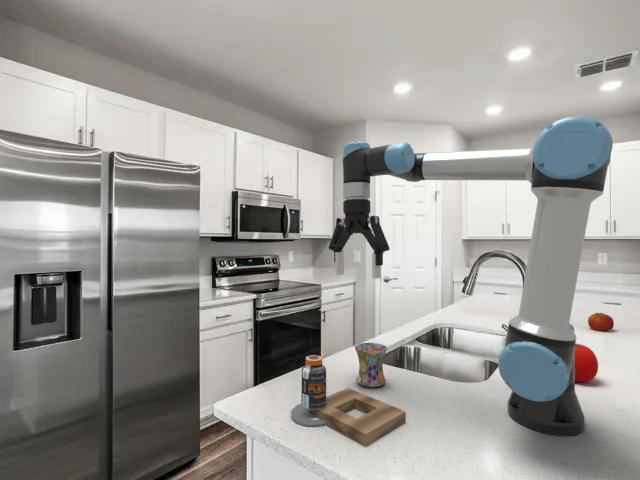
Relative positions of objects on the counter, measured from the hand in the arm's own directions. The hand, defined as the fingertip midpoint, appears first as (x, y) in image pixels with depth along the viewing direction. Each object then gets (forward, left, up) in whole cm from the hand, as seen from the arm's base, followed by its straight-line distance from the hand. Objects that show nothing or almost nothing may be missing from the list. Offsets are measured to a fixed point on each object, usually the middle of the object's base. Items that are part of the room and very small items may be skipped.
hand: (357, 276), depth 100 cm
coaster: (-2, +18, -32) cm, 37 cm away
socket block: (-10, +12, -32) cm, 35 cm away
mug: (+2, -7, -32) cm, 33 cm away
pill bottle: (-2, +18, -29) cm, 35 cm away
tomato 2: (-32, -129, -32) cm, 137 cm away
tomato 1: (-39, -53, -32) cm, 73 cm away
